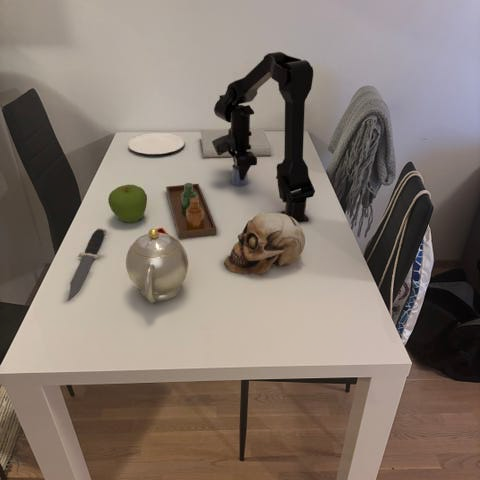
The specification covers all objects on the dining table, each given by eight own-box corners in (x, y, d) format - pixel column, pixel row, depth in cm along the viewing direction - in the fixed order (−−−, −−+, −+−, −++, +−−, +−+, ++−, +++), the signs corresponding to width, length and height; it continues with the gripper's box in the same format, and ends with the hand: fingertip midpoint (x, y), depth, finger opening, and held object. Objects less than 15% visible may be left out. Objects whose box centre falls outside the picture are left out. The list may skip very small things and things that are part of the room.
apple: (129, 207, 141) (124, 175, 135) (157, 216, 137) (153, 183, 131) (104, 222, 134) (97, 189, 128) (132, 232, 130) (127, 199, 124)
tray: (216, 234, 130) (216, 228, 128) (179, 239, 128) (178, 232, 127) (198, 189, 150) (198, 183, 149) (166, 192, 149) (165, 186, 147)
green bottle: (199, 215, 137) (198, 187, 131) (183, 217, 136) (181, 189, 130) (197, 207, 140) (195, 180, 135) (180, 209, 139) (178, 181, 134)
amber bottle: (206, 231, 130) (204, 203, 124) (188, 233, 129) (186, 205, 123) (202, 223, 133) (201, 195, 128) (185, 225, 132) (183, 196, 127)
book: (200, 130, 180) (263, 128, 183) (200, 140, 183) (262, 138, 185) (203, 148, 167) (270, 146, 169) (203, 159, 169) (270, 156, 171)
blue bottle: (248, 184, 153) (249, 159, 148) (234, 186, 153) (234, 160, 147) (245, 178, 157) (245, 153, 151) (230, 179, 156) (230, 154, 151)
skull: (218, 264, 118) (222, 215, 110) (260, 243, 130) (267, 196, 122) (268, 291, 111) (277, 240, 103) (307, 266, 123) (318, 218, 115)
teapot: (138, 271, 116) (129, 211, 106) (194, 273, 116) (190, 213, 105) (120, 319, 103) (107, 255, 92) (183, 322, 102) (177, 258, 92)
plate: (119, 154, 171) (118, 149, 170) (141, 134, 186) (141, 130, 185) (173, 160, 167) (173, 155, 166) (192, 139, 183) (192, 135, 182)
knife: (110, 233, 130) (91, 230, 129) (109, 228, 128) (91, 225, 128) (80, 305, 108) (57, 302, 108) (79, 299, 107) (57, 296, 106)
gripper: (208, 118, 149) (209, 167, 159) (220, 140, 135) (221, 191, 145) (242, 116, 151) (242, 164, 161) (258, 137, 137) (256, 188, 147)
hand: (239, 176), depth 153 cm, fingers closed on blue bottle, 5 cm apart
